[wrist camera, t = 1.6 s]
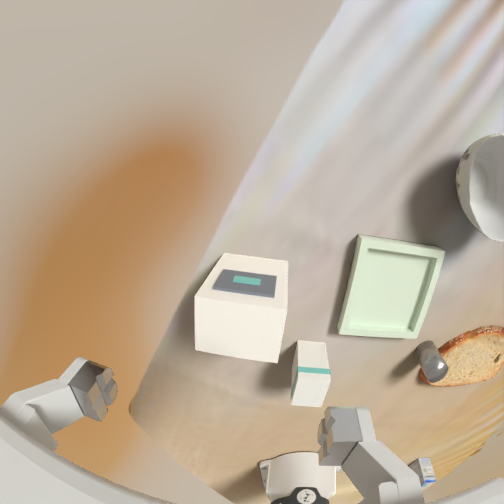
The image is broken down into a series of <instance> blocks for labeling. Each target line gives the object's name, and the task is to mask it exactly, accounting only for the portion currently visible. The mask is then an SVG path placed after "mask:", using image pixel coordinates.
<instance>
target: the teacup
mask: <svg viewBox="0 0 504 504" xmlns="http://www.w3.org/2000/svg"><path fill="white" fill-rule="evenodd" d="M456 190H457V195H458V199H459V202H460V204H461V207H462V209H463V211H464V213H465V214H466V216H467V217H468V219H469V220H470V221H471V223H472V224H473V225H474V226H475V227H476V228H477V229H478V230H479V231H480V232H481V233H482V234H484V235H485V236H486V237H488V238H490V239H491V240H494V241H498V242H504V134H502V133H500V134H493V135H489V136H486V137H483V138H481V139H479V140H477V141H476V142H474V143H473V144H472V145H470V146H469V147H468V148H467V150H466V151H465V152H464V154H463V155H462V157H461V159H460V161H459V164H458V168H457V172H456Z"/></svg>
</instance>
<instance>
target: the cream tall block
mask: <svg viewBox="0 0 504 504" xmlns="http://www.w3.org/2000/svg"><path fill="white" fill-rule="evenodd" d="M287 298H288V261H284V260H276V259H268V258H260V257H252V256H244V255H236V254H228V253H224V254H223V255H222V257H221V258H220V260H219V261H218V262H217V264H216V265H215V267H214V268H213V270H212V271H211V273H210V274H209V276H208V277H207V279H206V280H205V282H204V283H203V284H202V286H201V287H200V289H199V290H198V292H197V293H196V295H195V350H198V351H203V352H208V353H214V354H219V355H225V356H231V357H237V358H243V359H250V360H257V361H264V362H272V363H278V358H279V353H280V347H281V342H282V336H283V331H284V325H285V319H286V314H287Z"/></svg>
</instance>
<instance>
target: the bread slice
mask: <svg viewBox="0 0 504 504" xmlns="http://www.w3.org/2000/svg"><path fill="white" fill-rule="evenodd" d="M438 351H439V352H440V354H441V356H442V357H443V359H444V360H445V362H446V364H447V365H448V368H449V369H448V372H447V374H446V375H445V377H444V378H442V379H441V380H440V381H438V382H435V383H430V382H429V381H428V380H427V378H426V376H425V374H424V372H423V370H422V368H421V369H420V371H419V376H420V378H421V379H422V380H424V381H425V382H426V383H428V384H430V385H434V386H458V385H466V384H471V383H477V382H480V381H485V380H487V379H489V378H492V377H493V376H494V375H495V374H497V372H498V371H499V370H500V368H501V367H502V365H503V363H504V328H503V327H500V326H482V327H480V328H477V329H476V330H473V331H468V332H465V333H463V334H461V335H459V336H457V337H455V338H454V339H452V340H450V341H448V342H447V343H445V344H444V345H443V346H441V347H440V348H439V349H438Z"/></svg>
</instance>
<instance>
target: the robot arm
mask: <svg viewBox="0 0 504 504" xmlns="http://www.w3.org/2000/svg"><path fill="white" fill-rule="evenodd" d="M112 376H113V372H112V369H111V368H108V367H106V366H103V365H100V364H98V363H95V362H92V361H90V360H87V359H84V358H82V357H78V358H76V359H75V361H74V362H73V363H72V364H71V365H70V366H69V367H68V368H67V370H66V371H65V372H64V373H63V374H62V375H61V377H60V378H59V379H58V380H57V379H53V380H50V381H48V382H45V383H42V384H39V385H36V386H33V387H31V388H28V389H25V390H22V391H19V392H16V393H13V394H12V395H11V396H10V397H9V398H8V400H7V401H6V402H5V403H4V404H3V405H2V407H1V408H0V504H175V503H171V502H168V501H165V500H161V499H158V498H155V497H152V496H148V495H146V494H143V493H140V492H137V491H134V490H132V489H129V488H126V487H124V486H121V485H119V484H116V483H114V482H112V481H109V480H107V479H105V478H102V477H100V476H98V475H96V474H94V473H92V472H90V471H88V470H86V469H84V468H82V467H80V466H78V465H76V464H74V463H72V462H70V461H69V460H67V459H65V458H63V457H62V456H60V455H58V454H56V453H55V452H54V451H55V449H56V448H57V446H58V444H57V441H56V440H55V439H54V437H53V436H52V434H53V433H55V432H57V431H59V430H61V429H62V428H64V427H66V426H68V425H70V424H71V423H73V422H75V421H77V420H78V419H80V418H82V417H83V416H84V415H85V416H88V417H90V418H92V419H95V420H97V421H100V422H101V421H102V420H103V418H104V416H105V415H106V413H107V412H108V408H107V406H108V405H110V404H112V403H113V402H114V400H115V398H116V395H117V384H116V382H115V381H114V380H113V379H112ZM318 443H319V444H320V445H321V447H320V449H319V451H318V453H313V452H297V453H290V454H285V455H282V456H279V457H277V458H274V459H271V460H265V461H261V462H260V471H261V475H262V480H263V485H264V487H265V488H266V493H268V497H269V500H270V502H271V504H329V499H330V498H331V497H332V496H333V495H334V494H335V489H336V473H338V472H339V471H340V470H341V468H342V469H343V471H344V472H345V473H346V475H347V476H348V477H349V479H350V480H351V481H352V483H353V484H354V485H355V487H356V488H357V489H358V491H359V492H360V493H361V495H362V496H363V497H364V499H363V500H362V501H360V502H359V503H358V504H504V479H503V478H501V477H495V478H492V479H490V480H487V481H485V482H483V483H481V484H479V485H476V486H474V487H471V488H469V489H466V490H464V491H461V492H459V493H456V494H453V495H450V496H447V497H444V498H441V499H438V500H435V501H432V502H428V503H425V502H424V498H423V493H422V489H421V484H420V480H419V476H418V475H417V474H416V473H415V472H414V471H413V470H411V469H410V468H409V467H408V466H407V465H406V464H405V463H404V462H403V461H402V460H400V459H399V458H398V457H397V456H396V455H395V454H394V453H393V452H392V451H391V450H390V449H388V448H387V447H386V446H385V445H384V444H383V443H382V442H381V441H376V437H375V432H374V428H373V424H372V419H371V415H370V411H369V408H368V407H327V408H326V410H325V418H323V419H322V420H321V422H320V424H319V428H318Z"/></svg>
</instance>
